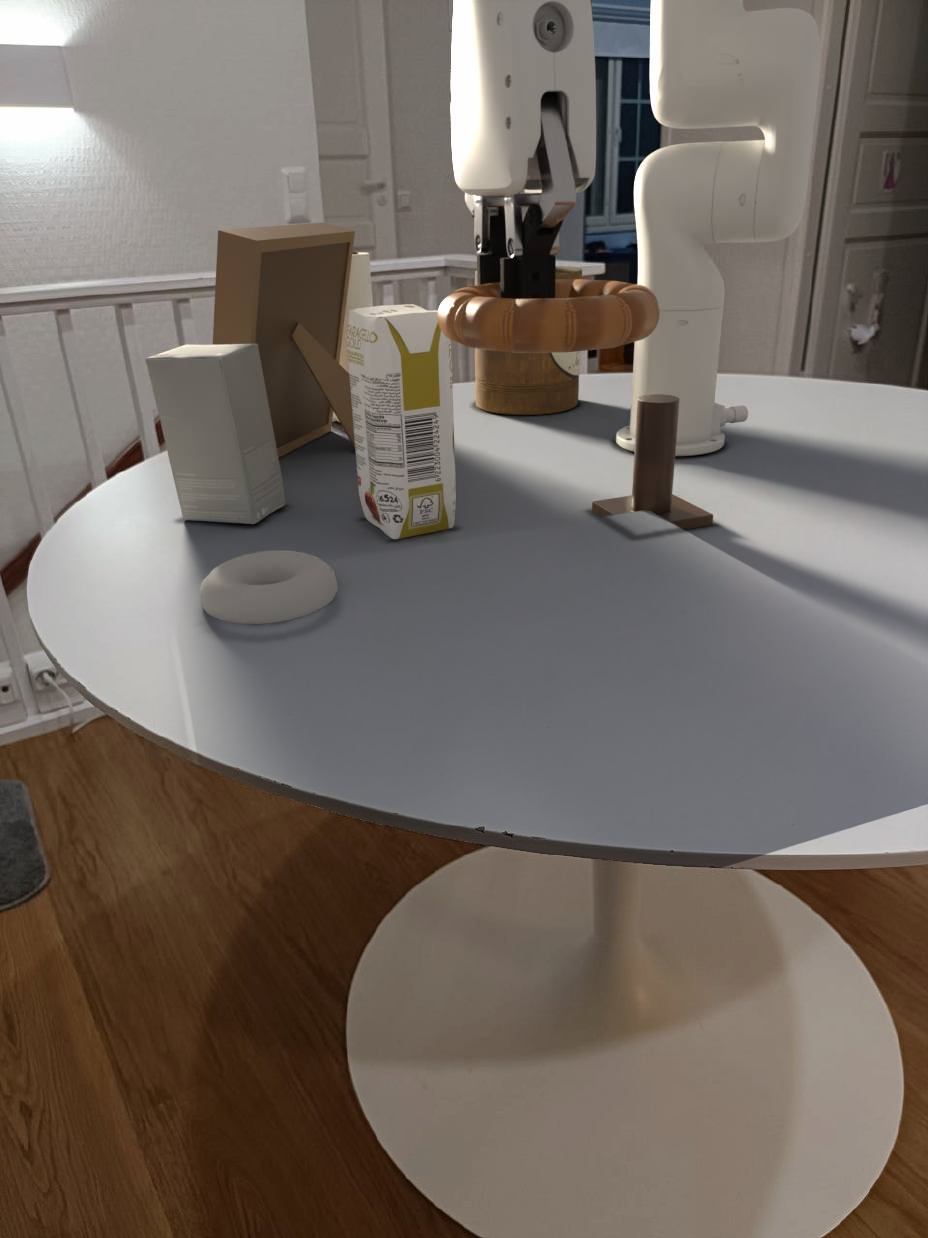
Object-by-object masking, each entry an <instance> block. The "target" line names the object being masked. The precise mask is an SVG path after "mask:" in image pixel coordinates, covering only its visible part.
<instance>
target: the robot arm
mask: <svg viewBox="0 0 928 1238" xmlns="http://www.w3.org/2000/svg"><path fill="white" fill-rule="evenodd" d="M452 10H453V12H452V30H451V62H450V63H451V66H450V67H451V69H450V71H451V72H450V122H451V123H450V124H451V125H450V126H451V127H450V128H451V131H450V133H451V153H452V166H453V175H454V180H455V184H456V185H457V187H458V188H459V189H460V190H461V191H462V192H463V193H464V202H465V205H466V207H467V208H468V211H469V212H470V213H471V219H472V221H473V222H474V223H473V224H474V225H473V226H474V229H473V231H474V233H473V234H474V237H473V242H474V250H475V253H476V271H477V285H483V284H489V283H498V282H501V298H512V299H544V298H555V271H556V266H557V261H556V260H557V255H558V254H559V252H560V249H561V248H560V245H561V244H560V240H561V239H560V237H561V236H560V230H561V228H562V226H563V223H564V220H565V218H567V216H568V215H569V214H570V212H572V210H573V209H574V208H575V206H576V203H577V196H578V195H577V193H581V192H584V191H585V190H587V189H588V187H589V186H591V184H592V182H593V181H594V179H595V176H596V164H597V163H596V162H597V89H596V88H597V86H596V85H597V84H596V83H597V82H596V80H597V79H596V54H595V52H596V51H595V36H594V21H593V11H592V10H593V9H592V1H591V0H453V9H452ZM649 28H650V32H649V33H650V34H649V43H650V44H649V95H650V105H651V111H652V113H653V116H654V118H655V119H656V121H657V122H658V123H659V124H661V125H662V126H664V127H667V128H670V129H679V130H680V129H681V130H694V129H695V130H696V129H717V128H738V127H756V128H758V129H760V130H761V132H762V133H763V136H764V139H756V140H755V139H753V140H736V141H735V140H731V141H725V140H722V141H721V140H720V141H704V142H703V141H702V142H701V141H699V142H684V143H677V144H672V145H668V146H663V147H661V148H658V149H656V150H655V151H653V152H651V153H650V154H648V155H647V156H646V157H645V158H644V159H643V161H642V162H641V163H640V165H639V167H638V168H637V171H636V174H635V178H634V182H633V184H634V185H633V206H634V216H635V217H634V218H635V228H636V240H637V284H638V285H642V286H645V287H647V288H649V289H650V290H651V291H652V292H653V293H654V295H655V296H656V299H657V302H658V306H659V311H660V316H659V321H658V324H657V326H656V328H655V330H654V331H653V332H652V333H651V334H650V335H649V336H648V337H646V338H644V339H642V340H639V341H635V342H634V345H633V346H634V347H633V365H632V383H631V400H630V420H629V425H627V426H623V427H621V428H620V429H618V430H617V432H616V435H615V442H616V444H617V445H618V446H619V447H621V448H622V449H624V450H627V451H630V452H634V453H635V435H636V418H637V401H638V397H640V396H644V395H652V394H663V395H672V396H676V397H678V398H679V399H680V401H679V414H678V427H677V440H676V452H675V457H690V456H691V457H692V456H700V455H705V454H710V453H713V452H717V451H718V450H721V449H722V448H723V447H724V445H725V434H724V433H723V432H722V431H721V430H720V429H721V428H722V427H725V425H726V424H738V423H744V422H746V421H747V420H748V417H749V409H748V407H747V406H745V405H737V406H730V407H727V408H726V406H725V405H724V404H720V403H716V402H715V401H716V390H717V381H718V380H717V379H718V368H719V360H720V359H719V358H720V348H721V337H722V327H723V326H722V325H723V316H724V307H725V295H726V291H725V290H726V289H725V283H724V278H723V276H722V274H721V272H720V270H719V268H718V267H717V265H716V264H715V262H714V261H713V259H712V258H711V256H710V255H709V254H708V252H707V250H706V249H705V245H709V244H717V243H718V244H722V243H724V244H725V243H769V242H777V241H782V240H784V239H787V238H788V237H790V236H791V235H793V233H794V232H796V230H797V228H798V227H799V225H800V224H801V220H802V218H803V214H804V210H805V206H806V201H807V194H808V186H809V178H810V177H809V176H810V168H811V157H812V148H813V138H814V131H815V130H814V129H815V120H816V112H817V111H816V110H817V101H818V91H819V83H820V67H821V37H820V32H819V27H818V23H817V22H816V20H815V18H814V17H813V16H812V14H811V13H809V12H808V11H806V10H804V9H801V8H797V7H796V8H795V7H780V8H779V7H778V8H769V9H760V10H749V11H747V10H746V9H745V7H744V0H650V27H649ZM525 208H527V210H526V212H525Z"/></svg>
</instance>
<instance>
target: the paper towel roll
mask: <svg viewBox="0 0 928 1238" xmlns="http://www.w3.org/2000/svg"><path fill="white" fill-rule="evenodd" d="M370 257H371V256H370V253H369V252H359V251H358V250H357V251H356V250H353V253H352V261H351V269H350V277H349V286H348V294H347V302H346V311H345V319H344V327H343V336H342V344H341V352H340V360H339V364H340V365H341V366H342V367H343V368H344V369H345V370H346V371H347V372H348V373H349V364H348V351H347V334H348V317H349V313H348V309H357V308H366V307H374V306H373V305H374V304H373V303H374V302H373V290H372V288H373V287H372V275H371V259H370ZM333 419H335V420H336V421H337V422H338V423H340V421H339V420H338V418H337V416H336V415H335V413H334V411H333Z"/></svg>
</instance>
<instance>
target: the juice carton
mask: <svg viewBox="0 0 928 1238" xmlns="http://www.w3.org/2000/svg"><path fill="white" fill-rule="evenodd" d="M348 313H349V317H348V334H347V351H348V364H349V377H350V389H351V401H352V414H353V426H354V438H355V447H354V449H355V460H356V462H355V463H356V474H357V485H358V486H357V487H358V495H359V500H360V503H361V507H362V512H363V515H364V517H365V519H366V520H367V521H368V522H369V523H371V524H372V525H374V526H375V527H377V528H378V529H380V530H381V531H382V532H383V533H384V534H385V535H386V536H388V537H389V538H390V539H392V540H400V539H405V538H411V537H415V536H420V535H425V534H431V533H436V532H441V531H445V530H449V529H452V528H454V526H455V515H456V501H457V500H456V498H457V496H456V495H457V488H456V483H457V482H456V455H455V453H456V451H455V423H454V422H455V421H454V420H455V419H454V390H453V389H454V388H453V362H452V361H453V360H452V358H453V357H452V340H451V339H449V338H448V337H446V336H445V335H444V334H443V332H442V331H441V329H440V327H439V324H438V319H437V315H438V310H428V309H425V308H423V307H422V306H419V305H416V304H414V303H408V304H388V305H387V304H386V305H376V306H373V307H366V308H357V309H348Z"/></svg>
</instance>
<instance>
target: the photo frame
mask: <svg viewBox="0 0 928 1238" xmlns="http://www.w3.org/2000/svg"><path fill="white" fill-rule="evenodd" d="M355 235H356V231H355V230H352V229H349V228H345V227H341V226H337V225H333V224H329V223H325V222H313V223H312V222H311V223H310V222H309V223H296V224H285V225H270V226H257V227H256V226H255V227H243V228H230V229H219V230H217V243H216V244H217V246H216V266H215V267H216V268H215V286H214V287H215V288H214V306H213V308H214V309H213V325H212V326H213V327H212V345H230V344H258V349H259V355H260V360H261V366H262V371H263V377H264V382H265V388H266V393H267V399H268V404H269V410H270V415H271V420H272V426H273V432H274V437H275V442H276V448H277V453H278V459H279V458H281V457H282V456H285V455H286V454H288V453H290V452H293V451H295V450H296V449H298V448H300V447H302V446H304V445H306V444H308V443H310V442H312V441H314V440H316V439H317V438H320V437H322V436H323V435H325V434H329V432H331V431H332V425H333V419H334V418H333V411H334V413H335V415H336V416H337V418H338V420H339V421H340V422H339V423H340V425H341V426H342V428H343V430H344V432H345V434H346V435H347V437H348V439H349V441H350V442H351V444H352V446H353V447H354V448H355V438H354V426H353V414H352V401H351V389H350V377H349V373H348V372H347V371H346V370H345V369H344V368H343V367H342V366H341V365H340V364H339V360H340V352H341V344H342V336H343V327H344V319H345V311H346V302H347V294H348V286H349V277H350V269H351V261H352V253H353V251H354V243H355Z"/></svg>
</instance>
